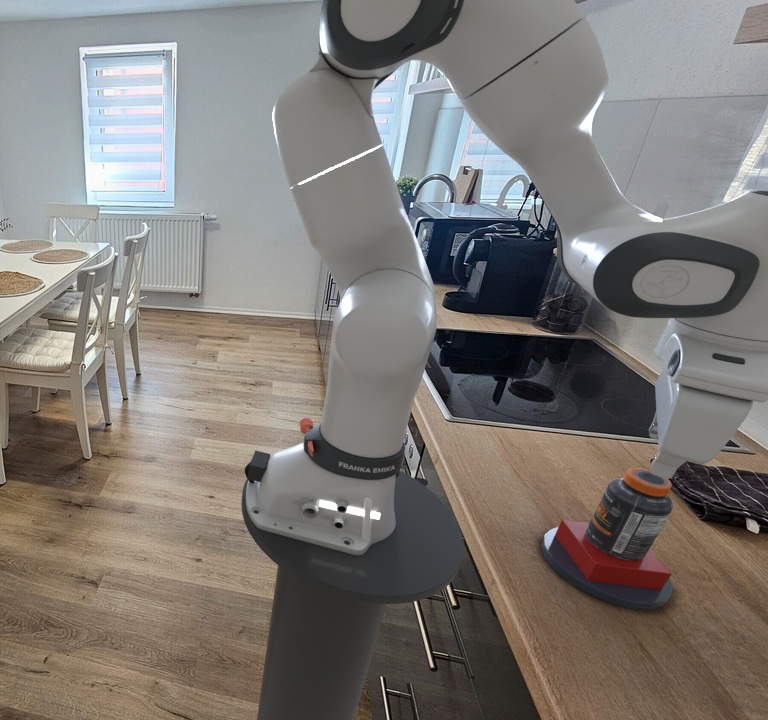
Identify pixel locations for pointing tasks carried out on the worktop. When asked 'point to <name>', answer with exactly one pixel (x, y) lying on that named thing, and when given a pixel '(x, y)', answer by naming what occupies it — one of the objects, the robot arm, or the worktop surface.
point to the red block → (609, 561)
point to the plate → (603, 591)
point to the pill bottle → (631, 514)
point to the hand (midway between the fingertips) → (657, 454)
